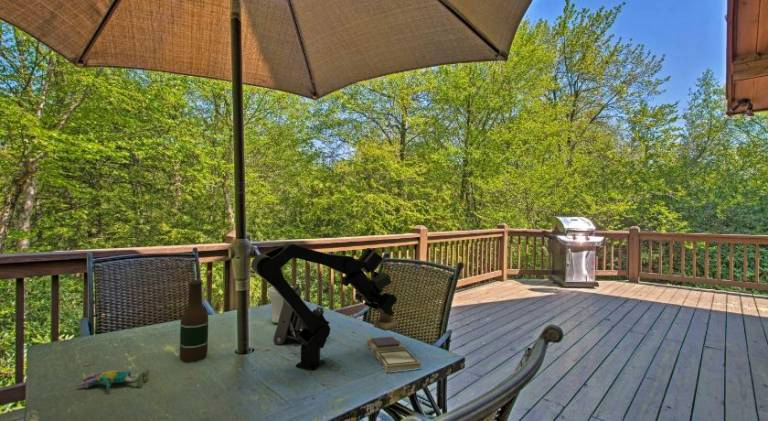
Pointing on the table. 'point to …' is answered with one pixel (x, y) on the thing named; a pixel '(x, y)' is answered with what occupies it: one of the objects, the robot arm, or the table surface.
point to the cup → (275, 304)
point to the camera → (289, 322)
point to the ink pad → (385, 342)
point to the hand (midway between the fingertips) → (389, 313)
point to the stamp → (385, 322)
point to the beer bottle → (194, 326)
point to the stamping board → (394, 357)
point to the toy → (115, 378)
